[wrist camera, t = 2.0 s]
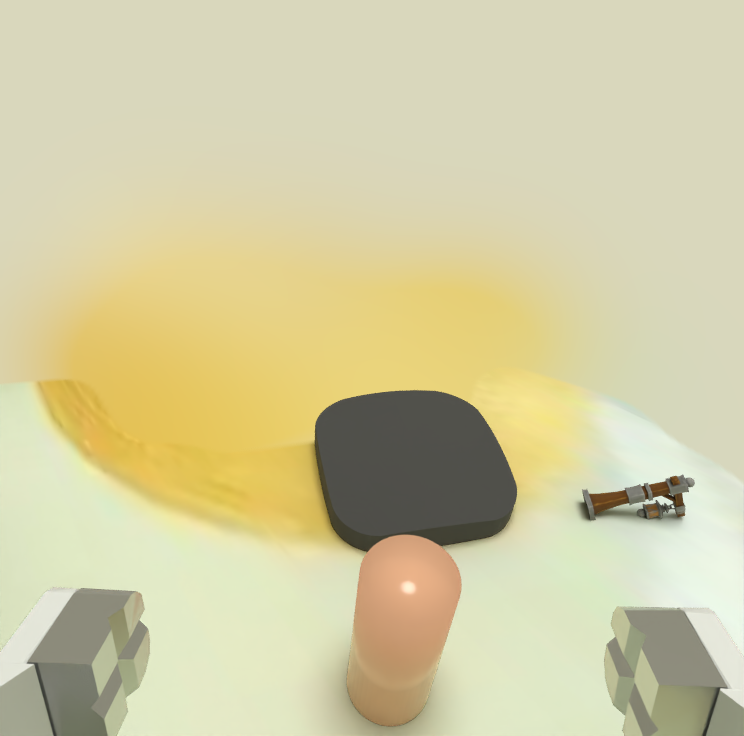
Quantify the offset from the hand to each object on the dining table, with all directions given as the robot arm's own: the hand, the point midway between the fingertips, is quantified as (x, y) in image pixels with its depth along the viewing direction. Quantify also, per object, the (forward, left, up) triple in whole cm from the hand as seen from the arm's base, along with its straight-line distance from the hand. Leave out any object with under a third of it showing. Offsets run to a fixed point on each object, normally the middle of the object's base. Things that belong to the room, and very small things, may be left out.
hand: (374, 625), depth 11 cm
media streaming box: (-19, +22, -28) cm, 40 cm away
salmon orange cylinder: (-7, +10, -27) cm, 30 cm away
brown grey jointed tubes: (-6, +33, -28) cm, 44 cm away
